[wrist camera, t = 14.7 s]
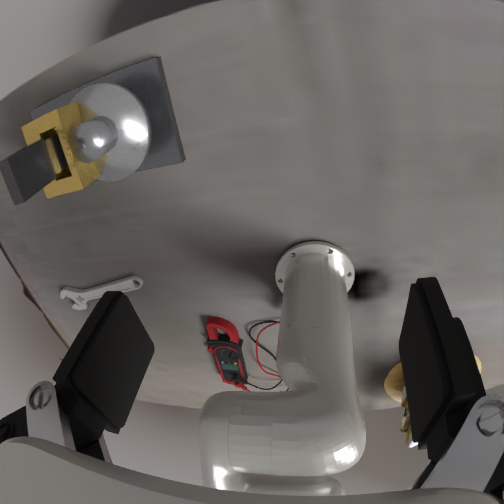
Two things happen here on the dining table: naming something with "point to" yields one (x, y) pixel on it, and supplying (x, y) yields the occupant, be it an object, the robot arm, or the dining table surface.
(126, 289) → the adjustable wrench
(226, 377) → the digital clamp meter
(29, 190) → the wedge
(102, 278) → the dining table surface
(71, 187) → the multicoloured piece
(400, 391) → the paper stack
